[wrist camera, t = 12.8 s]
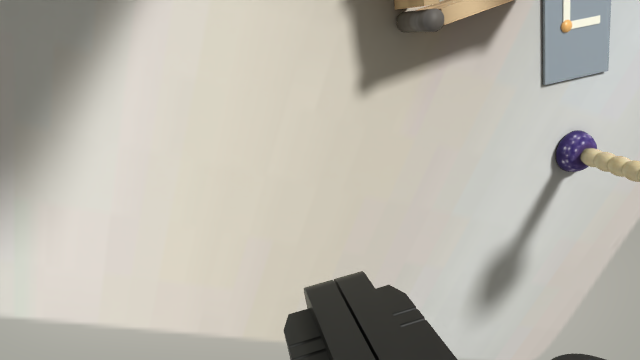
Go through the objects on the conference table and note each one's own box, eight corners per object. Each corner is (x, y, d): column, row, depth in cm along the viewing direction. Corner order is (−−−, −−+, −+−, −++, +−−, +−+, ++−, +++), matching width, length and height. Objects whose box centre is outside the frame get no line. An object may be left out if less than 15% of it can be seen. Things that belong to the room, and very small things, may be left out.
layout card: (542, -79, 39) (545, -81, 39) (611, -90, 41) (615, -92, 40) (543, 84, 44) (546, 85, 44) (605, 70, 45) (609, 70, 45)
